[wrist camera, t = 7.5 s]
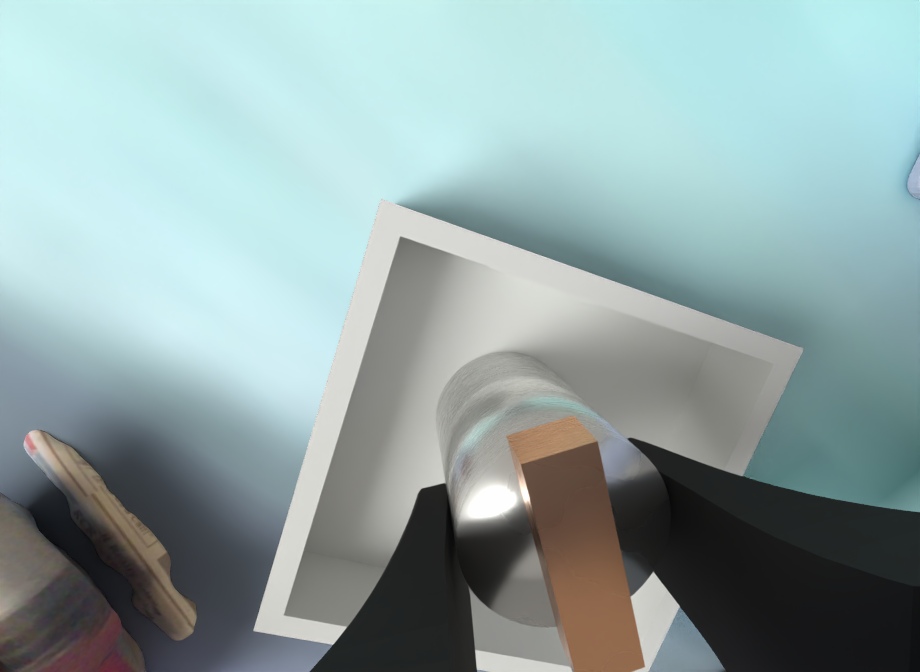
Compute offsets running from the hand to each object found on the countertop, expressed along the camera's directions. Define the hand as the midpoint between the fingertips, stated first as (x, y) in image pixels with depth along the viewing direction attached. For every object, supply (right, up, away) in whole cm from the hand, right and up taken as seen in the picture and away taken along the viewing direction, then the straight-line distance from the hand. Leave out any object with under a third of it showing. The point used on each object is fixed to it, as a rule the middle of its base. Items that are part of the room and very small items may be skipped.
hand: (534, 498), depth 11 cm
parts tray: (0, +1, +3) cm, 3 cm away
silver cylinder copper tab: (-1, +2, +2) cm, 3 cm away
